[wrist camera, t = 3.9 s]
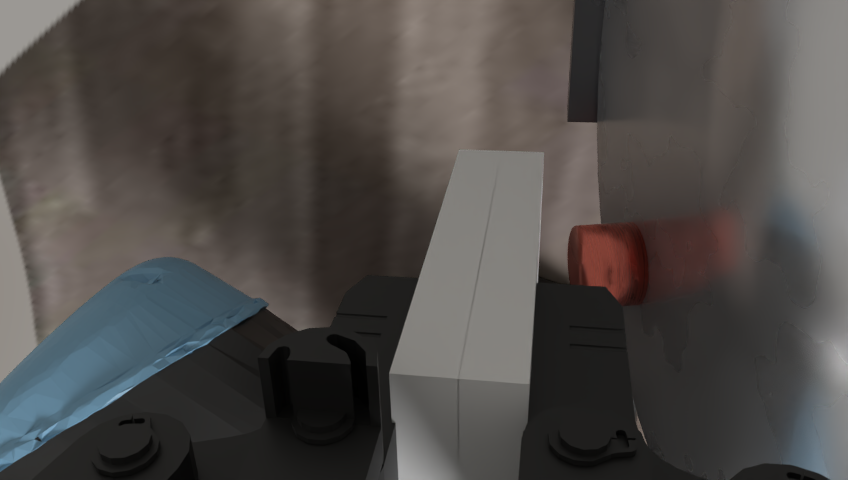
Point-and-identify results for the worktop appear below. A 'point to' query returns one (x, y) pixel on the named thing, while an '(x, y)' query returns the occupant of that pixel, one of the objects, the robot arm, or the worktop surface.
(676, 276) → the pot lid
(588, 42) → the pressure cooker pot
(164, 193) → the worktop surface
